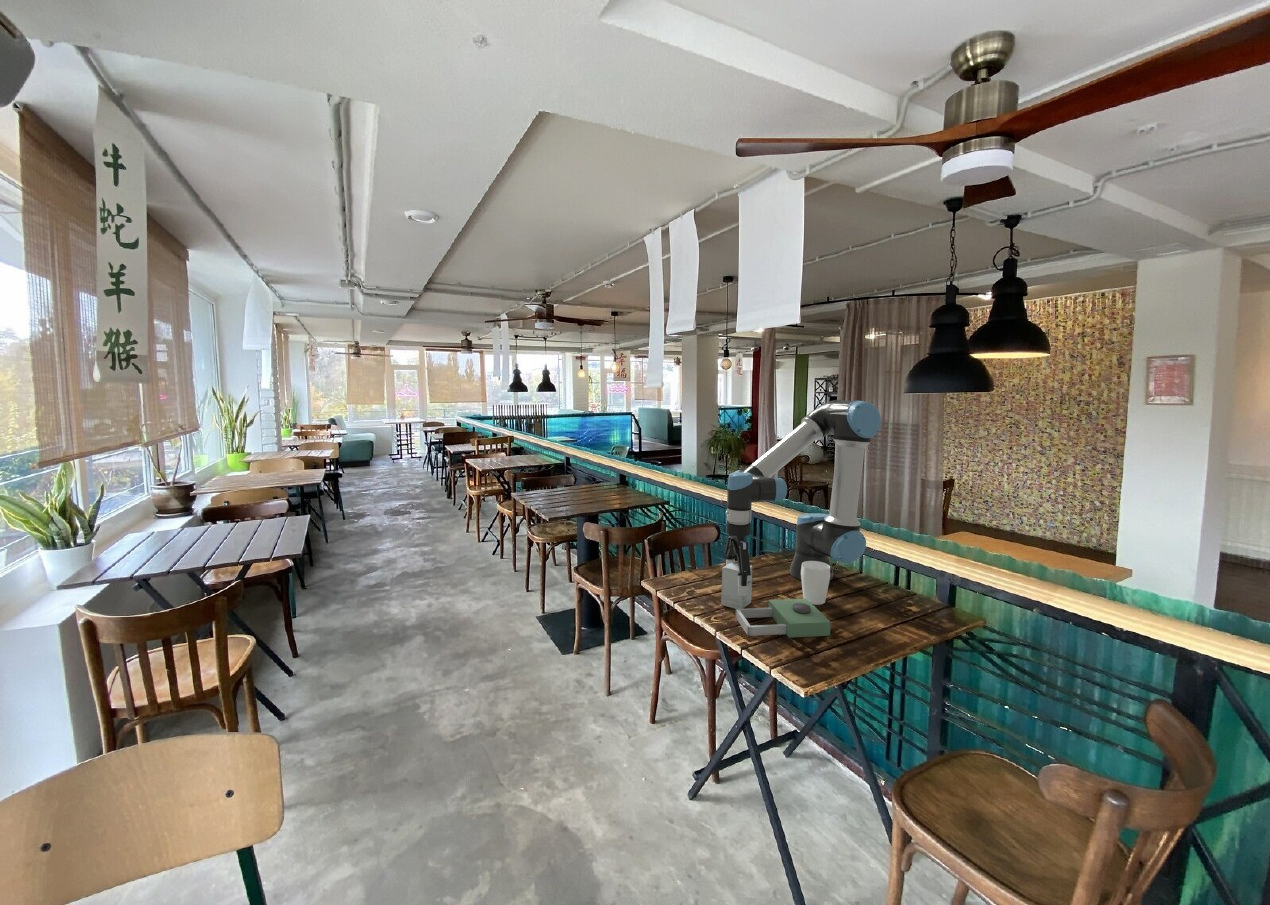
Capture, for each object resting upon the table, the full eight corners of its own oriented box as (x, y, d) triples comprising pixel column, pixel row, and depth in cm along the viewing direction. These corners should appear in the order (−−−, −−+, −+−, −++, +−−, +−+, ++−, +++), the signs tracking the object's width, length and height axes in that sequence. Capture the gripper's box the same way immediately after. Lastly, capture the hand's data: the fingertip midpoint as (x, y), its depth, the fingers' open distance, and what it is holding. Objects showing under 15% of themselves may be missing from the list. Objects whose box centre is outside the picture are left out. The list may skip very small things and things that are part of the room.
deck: (805, 610, 158) (806, 594, 158) (830, 635, 142) (831, 617, 142) (733, 613, 156) (733, 597, 155) (750, 639, 140) (750, 621, 140)
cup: (831, 607, 160) (833, 571, 159) (801, 605, 162) (802, 569, 161) (826, 596, 169) (828, 561, 168) (798, 594, 171) (799, 559, 170)
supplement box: (741, 611, 158) (743, 572, 157) (720, 605, 163) (721, 566, 161) (752, 603, 164) (753, 565, 162) (731, 597, 168) (732, 560, 167)
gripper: (716, 512, 172) (714, 572, 174) (738, 532, 147) (735, 603, 150) (738, 512, 172) (735, 572, 175) (763, 532, 148) (760, 602, 150)
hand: (735, 586), depth 162 cm, fingers open, 13 cm apart
